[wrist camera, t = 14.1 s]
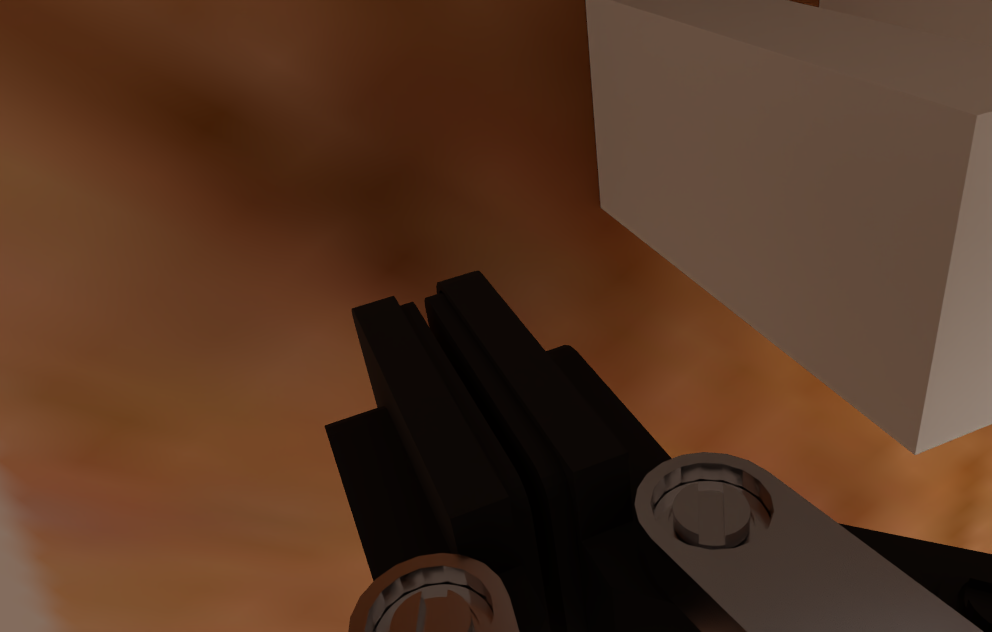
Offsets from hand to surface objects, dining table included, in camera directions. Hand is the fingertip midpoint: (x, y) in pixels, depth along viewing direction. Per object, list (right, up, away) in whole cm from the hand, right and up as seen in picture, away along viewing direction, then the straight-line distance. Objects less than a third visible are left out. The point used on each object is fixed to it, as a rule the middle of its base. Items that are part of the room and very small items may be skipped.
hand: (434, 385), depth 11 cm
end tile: (+4, +6, +8) cm, 11 cm away
